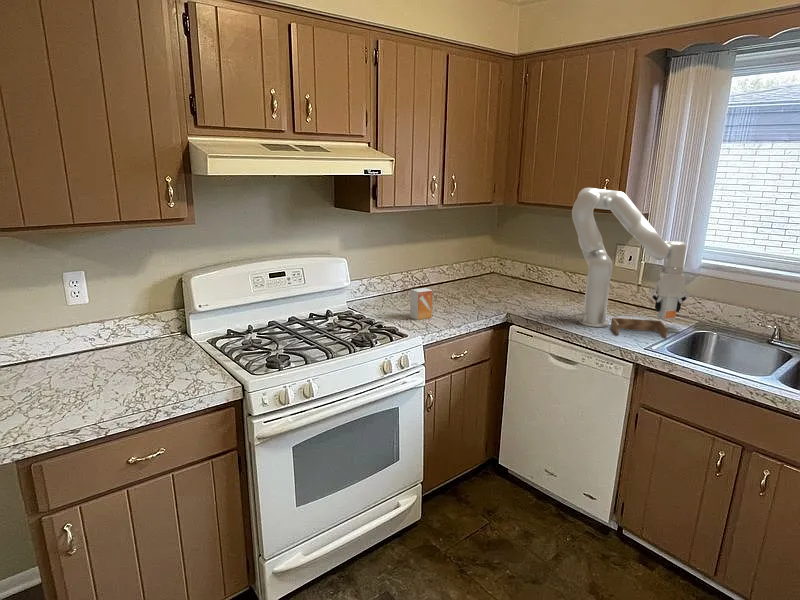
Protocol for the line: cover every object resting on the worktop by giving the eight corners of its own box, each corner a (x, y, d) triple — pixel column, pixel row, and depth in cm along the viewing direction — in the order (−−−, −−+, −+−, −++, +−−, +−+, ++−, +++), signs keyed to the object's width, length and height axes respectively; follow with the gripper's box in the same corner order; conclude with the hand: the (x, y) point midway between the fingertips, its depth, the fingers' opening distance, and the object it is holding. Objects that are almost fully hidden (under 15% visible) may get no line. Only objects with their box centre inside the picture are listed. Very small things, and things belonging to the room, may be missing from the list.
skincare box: (664, 320, 223) (667, 292, 220) (656, 317, 227) (660, 290, 224) (675, 319, 224) (679, 292, 221) (668, 316, 228) (672, 289, 225)
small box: (417, 320, 233) (418, 292, 230) (409, 317, 239) (410, 289, 235) (432, 317, 238) (433, 290, 235) (423, 314, 243) (424, 287, 240)
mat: (655, 331, 223) (655, 330, 223) (648, 325, 232) (648, 323, 232) (680, 333, 221) (680, 331, 221) (672, 326, 231) (672, 325, 231)
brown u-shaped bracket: (616, 335, 217) (617, 324, 216) (610, 327, 227) (611, 317, 226) (666, 338, 214) (668, 327, 213) (658, 330, 224) (659, 320, 223)
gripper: (653, 271, 218) (648, 312, 223) (698, 273, 215) (692, 314, 220) (648, 268, 226) (643, 307, 230) (691, 269, 223) (685, 309, 227)
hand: (667, 310), depth 225 cm, fingers closed on skincare box, 7 cm apart
